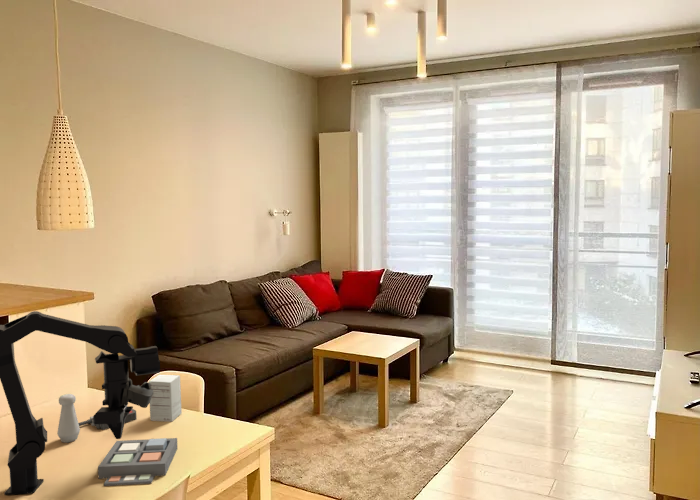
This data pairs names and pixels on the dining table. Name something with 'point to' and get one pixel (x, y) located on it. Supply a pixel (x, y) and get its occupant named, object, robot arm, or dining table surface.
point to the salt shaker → (68, 419)
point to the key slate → (156, 444)
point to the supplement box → (165, 398)
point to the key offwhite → (129, 447)
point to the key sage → (122, 458)
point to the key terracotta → (150, 457)
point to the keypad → (136, 464)
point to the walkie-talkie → (129, 417)
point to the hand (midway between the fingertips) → (118, 438)
